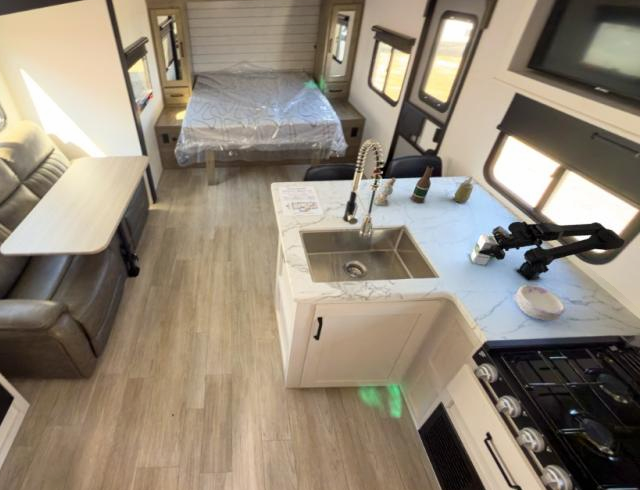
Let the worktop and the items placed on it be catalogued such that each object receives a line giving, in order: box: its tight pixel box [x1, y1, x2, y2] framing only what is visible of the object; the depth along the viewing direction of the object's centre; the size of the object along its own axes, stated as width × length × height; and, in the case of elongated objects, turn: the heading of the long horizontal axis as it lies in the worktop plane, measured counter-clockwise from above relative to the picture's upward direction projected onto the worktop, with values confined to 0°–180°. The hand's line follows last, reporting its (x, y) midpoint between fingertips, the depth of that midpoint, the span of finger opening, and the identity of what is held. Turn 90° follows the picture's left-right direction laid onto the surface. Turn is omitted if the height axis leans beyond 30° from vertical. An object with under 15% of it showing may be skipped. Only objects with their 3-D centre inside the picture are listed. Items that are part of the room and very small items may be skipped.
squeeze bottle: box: [454, 175, 474, 204], centre depth 197 cm, size 8×8×18 cm
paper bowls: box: [513, 284, 566, 322], centre depth 135 cm, size 15×15×8 cm
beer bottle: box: [411, 165, 434, 204], centre depth 196 cm, size 8×8×24 cm
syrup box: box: [469, 234, 499, 266], centre depth 157 cm, size 6×6×14 cm
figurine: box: [374, 177, 397, 206], centre depth 196 cm, size 9×8×20 cm
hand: (480, 247), depth 157 cm, fingers open, 9 cm apart
